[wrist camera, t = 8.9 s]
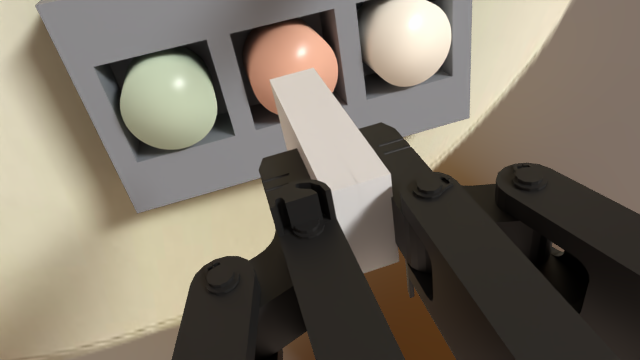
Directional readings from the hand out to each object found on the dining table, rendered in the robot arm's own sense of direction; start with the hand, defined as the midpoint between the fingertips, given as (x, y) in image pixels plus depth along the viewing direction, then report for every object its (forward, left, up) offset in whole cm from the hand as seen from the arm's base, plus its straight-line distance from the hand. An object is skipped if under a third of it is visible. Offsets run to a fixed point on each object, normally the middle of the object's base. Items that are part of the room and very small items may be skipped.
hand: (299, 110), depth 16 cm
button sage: (+5, -6, -20) cm, 21 cm away
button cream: (+5, +11, -20) cm, 23 cm away
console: (+5, +2, -21) cm, 22 cm away
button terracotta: (+5, +2, -20) cm, 20 cm away
